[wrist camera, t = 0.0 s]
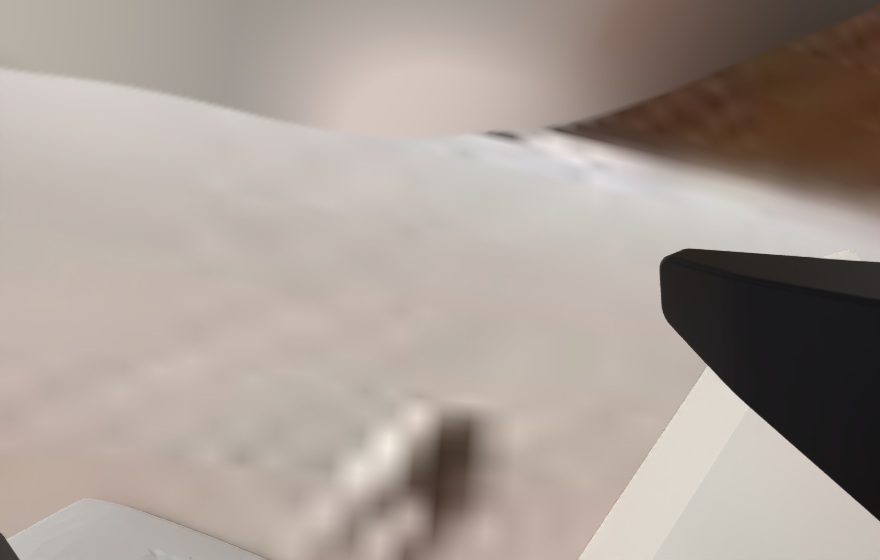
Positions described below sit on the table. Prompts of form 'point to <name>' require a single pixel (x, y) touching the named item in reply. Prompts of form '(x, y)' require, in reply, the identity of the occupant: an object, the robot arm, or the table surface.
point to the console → (732, 492)
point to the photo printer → (117, 537)
